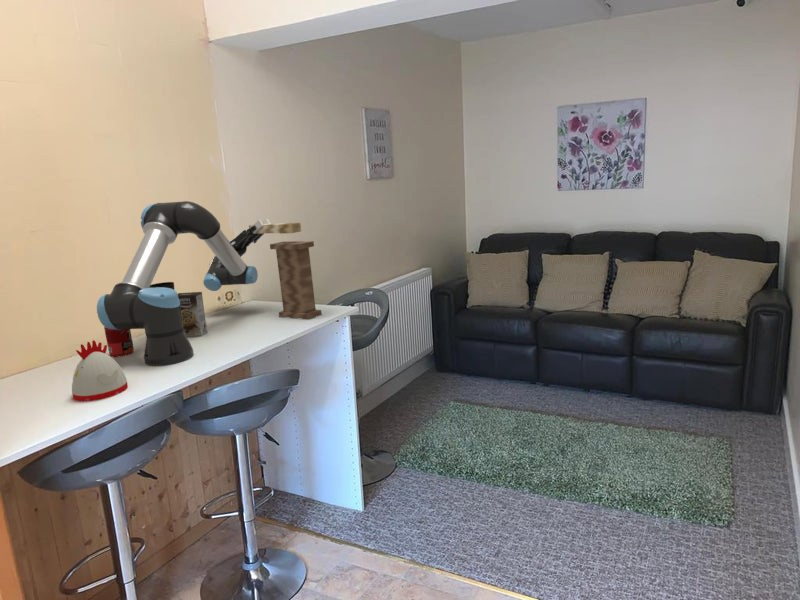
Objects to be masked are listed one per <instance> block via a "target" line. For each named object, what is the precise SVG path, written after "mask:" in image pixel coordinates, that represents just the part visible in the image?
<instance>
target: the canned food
mask: <svg viewBox="0 0 800 600" xmlns="http://www.w3.org/2000/svg"><path fill="white" fill-rule="evenodd" d="M103 329H104V334H105V340H106V345H107V349H108V353H109V354H108V355H109V356H110V357H112V356H113V357H112V358H117V357H118V356H120V357H125V355H126V356H129V355H131V354H133V353H134V352H135V351H134V349H135V348H134V344H133V338H132V332H131V329H122V330H117V329H108V328H106V327H105V326H103ZM128 354H129V355H128ZM118 358H119V357H118Z"/></svg>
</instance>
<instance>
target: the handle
mask: <svg viewBox="0 0 800 600" xmlns="http://www.w3.org/2000/svg"><path fill="white" fill-rule="evenodd" d="M254 224H255V223H254ZM254 224H249V225H248V229H250V228H251V227H252V226H253V225H254ZM301 232H302V225H301V222H287V223H284V222H283V223H271V224H263V226H262V227H261V228H260V229H259V230H258V231H257V232H256V233H255V234H262V233H264V234H281V235H282V234H294V233H301ZM252 234H253V232H252Z"/></svg>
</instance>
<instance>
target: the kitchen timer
mask: <svg viewBox="0 0 800 600" xmlns="http://www.w3.org/2000/svg"><path fill="white" fill-rule="evenodd" d="M91 343H92V344H91ZM107 349H108V345H107V344H104V346H103V349H102V342H98V344H97V342H96V340H93V339H92V342H90V341H87V342H86V347H85V345H84V344H80V350H81V351H80V350H78V349H75V351H76V353H77V354H78V356H80V360H79V362H78V364H77V365H76V367H75V370H74V373H73V377H72V384H71V393H72V394H71V395H72V399H74V401H77V402H94V401H99V400H103V399H104V400H105V399H108V398H111V397H114V396H117V395H119V394H122V393H123V392H125V391H126V390H127V389H128V380H127V377H126V375H125V373H124V371H123V369H122V368H121V365H119V363H118V362H117V360H115V359H114V357H112V356H110V354H107V353H106V352H107Z"/></svg>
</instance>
